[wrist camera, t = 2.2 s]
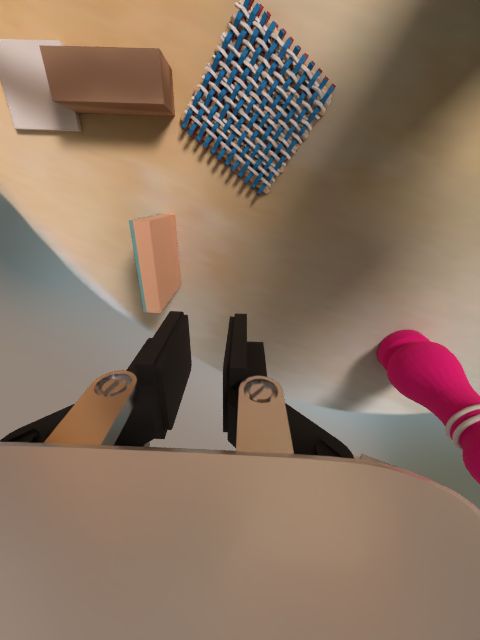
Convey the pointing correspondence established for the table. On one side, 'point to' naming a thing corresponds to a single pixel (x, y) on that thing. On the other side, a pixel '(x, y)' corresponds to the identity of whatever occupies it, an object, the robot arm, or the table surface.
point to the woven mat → (256, 97)
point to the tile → (156, 259)
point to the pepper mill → (436, 388)
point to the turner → (81, 83)
